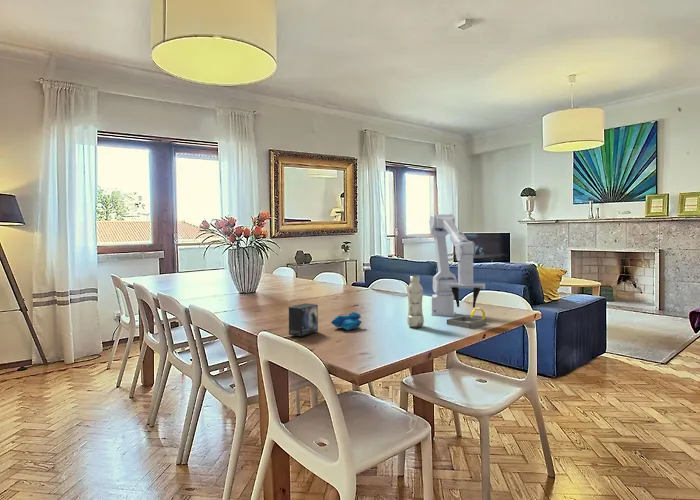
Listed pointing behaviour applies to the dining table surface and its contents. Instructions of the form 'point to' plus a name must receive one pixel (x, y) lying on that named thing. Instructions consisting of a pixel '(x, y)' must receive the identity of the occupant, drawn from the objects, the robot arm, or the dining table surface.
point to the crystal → (347, 321)
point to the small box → (303, 319)
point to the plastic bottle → (415, 303)
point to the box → (459, 322)
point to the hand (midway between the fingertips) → (466, 307)
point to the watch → (478, 309)
